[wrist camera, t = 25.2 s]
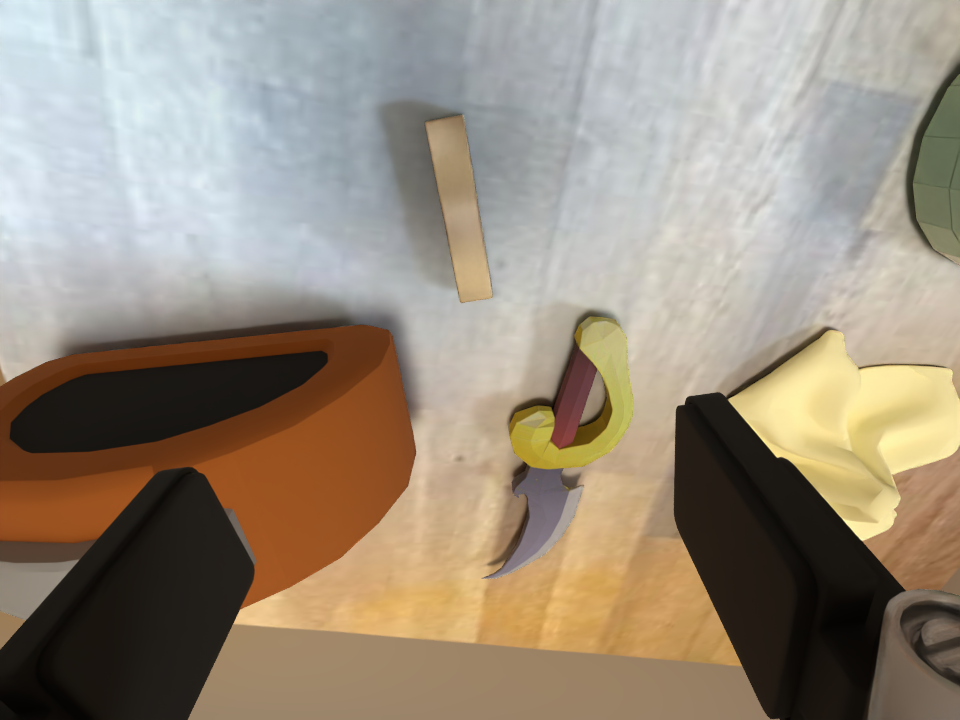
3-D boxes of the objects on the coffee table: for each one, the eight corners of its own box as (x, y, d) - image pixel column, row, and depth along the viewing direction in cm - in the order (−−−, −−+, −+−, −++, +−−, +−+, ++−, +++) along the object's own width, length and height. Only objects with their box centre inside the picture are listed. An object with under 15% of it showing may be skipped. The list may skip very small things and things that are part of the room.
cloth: (760, 314, 32) (818, 357, 27) (1012, 358, 34) (1116, 407, 28) (647, 552, 42) (673, 618, 37) (846, 577, 44) (899, 644, 38)
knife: (549, 576, 43) (659, 324, 32) (553, 603, 41) (674, 341, 30) (463, 562, 43) (546, 299, 31) (462, 589, 40) (552, 314, 29)
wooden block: (427, 120, 27) (423, 121, 25) (463, 114, 27) (462, 114, 25) (461, 292, 31) (460, 303, 29) (492, 287, 31) (492, 298, 29)
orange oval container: (402, 310, 32) (336, 489, 17) (424, 423, 36) (386, 647, 21) (59, 346, 33) (-286, 543, 18) (118, 452, 37) (-122, 684, 22)
